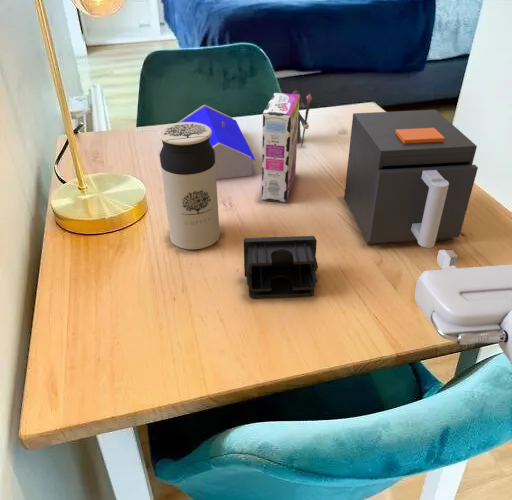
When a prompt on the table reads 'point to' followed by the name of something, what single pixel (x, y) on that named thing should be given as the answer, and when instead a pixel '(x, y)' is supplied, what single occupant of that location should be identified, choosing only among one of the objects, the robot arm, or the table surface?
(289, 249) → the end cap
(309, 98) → the wizard figurine
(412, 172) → the basket
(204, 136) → the travel mug
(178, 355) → the table surface
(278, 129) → the candy bar box
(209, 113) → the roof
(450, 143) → the fryer housing
